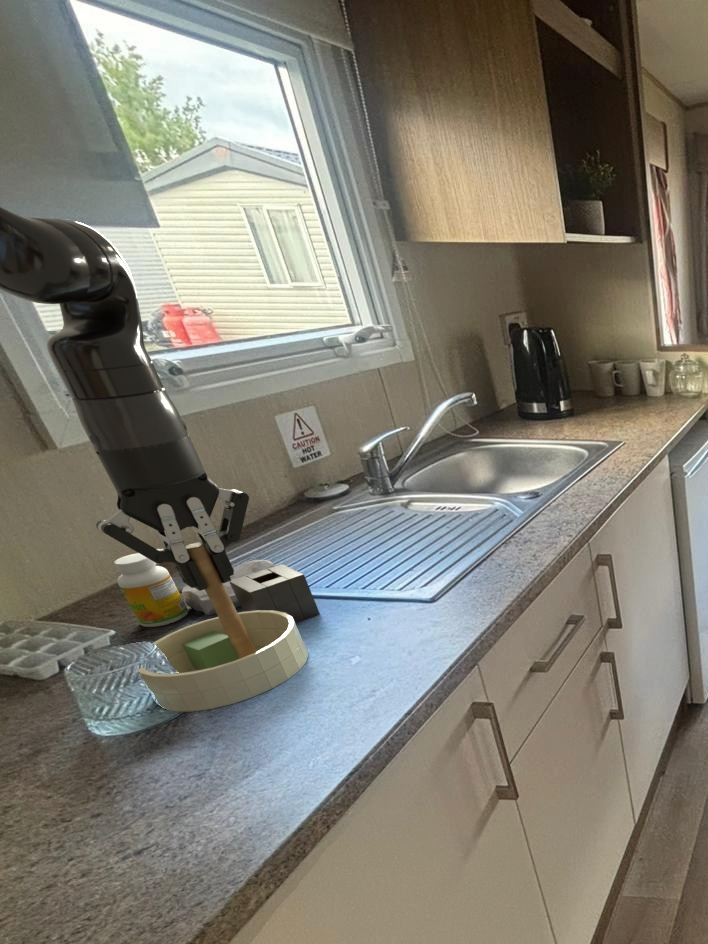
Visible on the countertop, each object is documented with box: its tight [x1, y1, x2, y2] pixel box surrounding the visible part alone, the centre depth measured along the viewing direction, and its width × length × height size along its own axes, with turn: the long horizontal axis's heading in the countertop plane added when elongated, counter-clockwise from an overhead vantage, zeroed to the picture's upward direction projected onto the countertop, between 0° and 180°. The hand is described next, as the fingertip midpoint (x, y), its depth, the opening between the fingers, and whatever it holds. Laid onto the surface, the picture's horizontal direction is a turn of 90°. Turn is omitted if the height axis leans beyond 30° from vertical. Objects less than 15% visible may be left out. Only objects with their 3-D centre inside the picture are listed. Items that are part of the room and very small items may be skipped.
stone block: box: [181, 559, 277, 616], centre depth 100 cm, size 12×5×10 cm
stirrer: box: [185, 542, 256, 659], centre depth 78 cm, size 2×2×16 cm
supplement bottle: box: [113, 552, 189, 628], centre depth 93 cm, size 5×5×10 cm
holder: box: [229, 563, 321, 625], centre depth 93 cm, size 7×7×7 cm
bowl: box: [137, 610, 309, 713], centre depth 81 cm, size 15×15×6 cm
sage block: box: [182, 631, 239, 670], centre depth 83 cm, size 4×4×4 cm
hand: (212, 584), depth 77 cm, fingers closed on stirrer, 2 cm apart
